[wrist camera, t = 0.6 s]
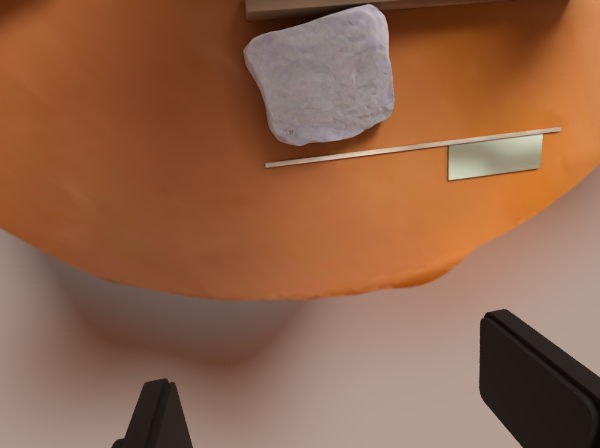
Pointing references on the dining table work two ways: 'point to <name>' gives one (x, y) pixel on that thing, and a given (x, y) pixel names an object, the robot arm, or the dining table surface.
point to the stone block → (324, 76)
